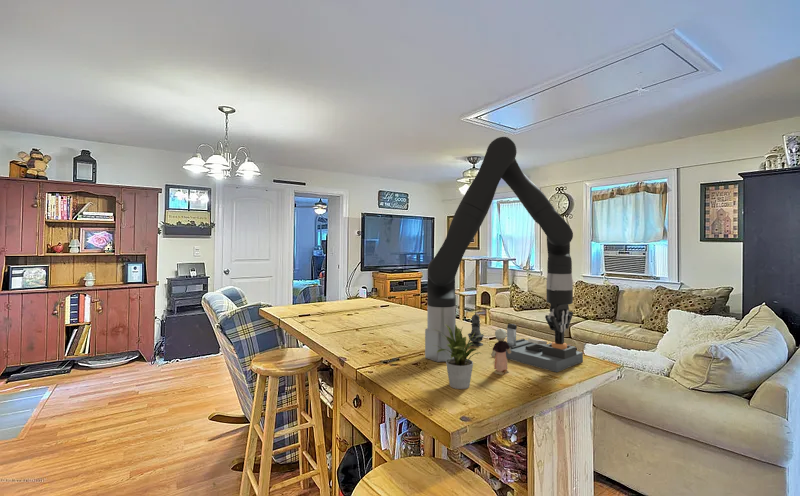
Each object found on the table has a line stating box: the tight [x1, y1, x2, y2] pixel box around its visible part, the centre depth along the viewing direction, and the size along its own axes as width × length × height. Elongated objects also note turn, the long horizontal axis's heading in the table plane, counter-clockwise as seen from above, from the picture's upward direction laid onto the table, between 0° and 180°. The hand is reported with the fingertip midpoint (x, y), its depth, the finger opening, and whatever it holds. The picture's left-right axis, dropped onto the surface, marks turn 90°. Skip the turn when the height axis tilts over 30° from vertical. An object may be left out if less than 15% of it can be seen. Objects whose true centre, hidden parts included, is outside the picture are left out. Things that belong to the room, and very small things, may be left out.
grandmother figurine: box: [490, 328, 511, 376], centre depth 108 cm, size 8×4×13 cm, turn 135°
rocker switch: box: [527, 338, 548, 345], centre depth 122 cm, size 5×4×1 cm
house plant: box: [432, 324, 486, 390], centre depth 99 cm, size 14×14×16 cm
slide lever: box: [506, 323, 518, 346], centre depth 126 cm, size 2×3×7 cm, turn 39°
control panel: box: [495, 338, 584, 373], centre depth 122 cm, size 16×22×6 cm
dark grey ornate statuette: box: [467, 312, 485, 347], centre depth 140 cm, size 6×6×12 cm
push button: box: [551, 341, 568, 349], centre depth 116 cm, size 4×4×3 cm
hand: (559, 343), depth 116 cm, fingers closed
